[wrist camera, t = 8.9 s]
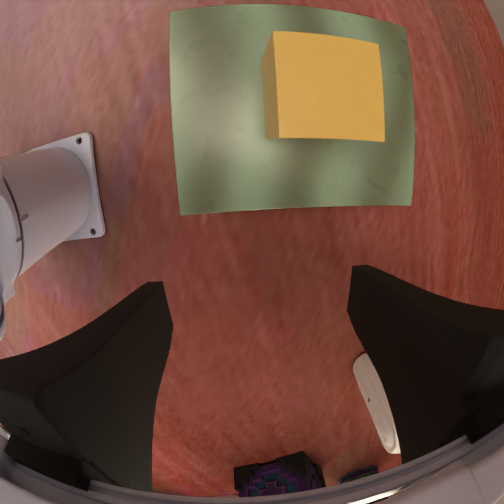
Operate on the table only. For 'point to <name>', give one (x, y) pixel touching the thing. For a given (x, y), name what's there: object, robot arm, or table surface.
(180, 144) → the green slab
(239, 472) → the energy cube
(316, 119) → the cube
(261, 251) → the table surface
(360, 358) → the cream rounded block
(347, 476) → the dark blue cylinder
